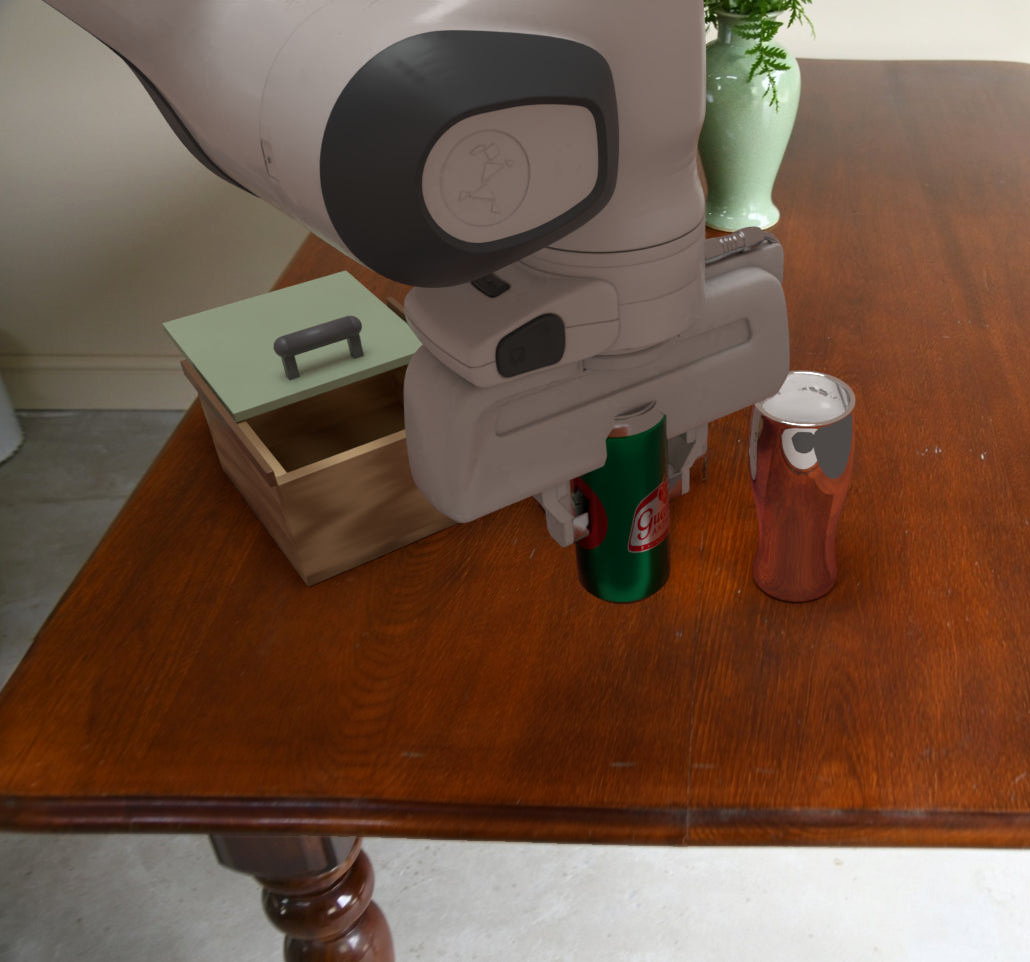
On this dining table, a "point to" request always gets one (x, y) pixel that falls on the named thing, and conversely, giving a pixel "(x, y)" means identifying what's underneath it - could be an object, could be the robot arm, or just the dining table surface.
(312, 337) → the slide lid
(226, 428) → the box
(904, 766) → the dining table surface
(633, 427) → the soda can
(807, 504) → the beer glass
